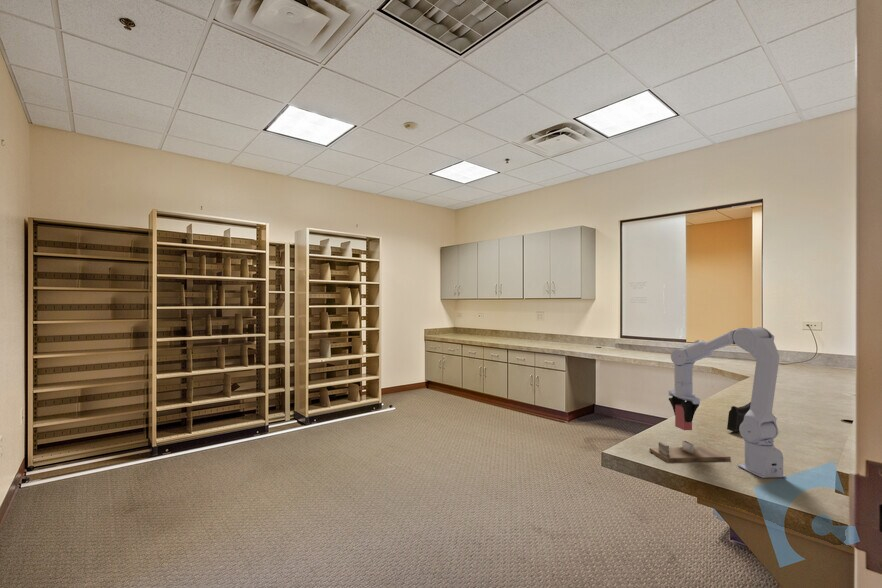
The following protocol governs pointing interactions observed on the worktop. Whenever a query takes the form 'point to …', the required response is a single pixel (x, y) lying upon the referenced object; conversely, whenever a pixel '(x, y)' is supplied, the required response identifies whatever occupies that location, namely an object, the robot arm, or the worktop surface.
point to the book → (681, 418)
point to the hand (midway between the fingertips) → (683, 419)
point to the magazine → (737, 417)
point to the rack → (688, 454)
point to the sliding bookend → (688, 447)
